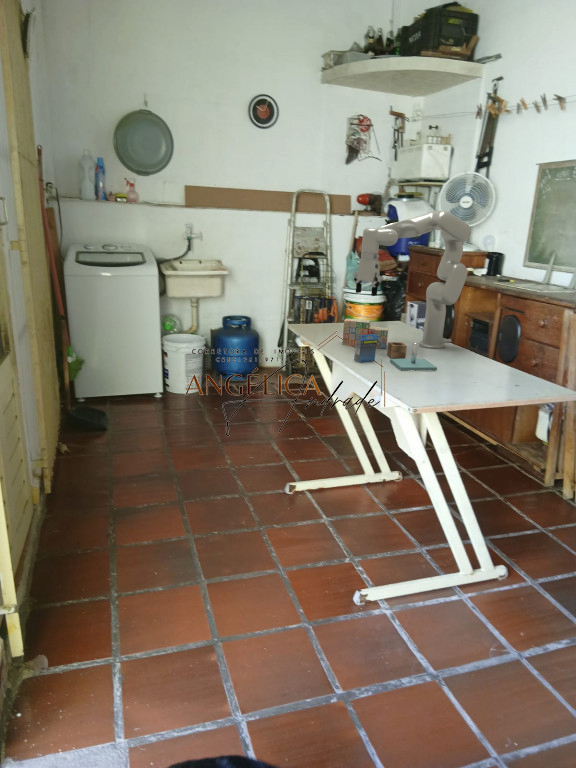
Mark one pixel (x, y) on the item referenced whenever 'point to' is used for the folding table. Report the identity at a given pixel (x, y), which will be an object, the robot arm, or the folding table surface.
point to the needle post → (414, 353)
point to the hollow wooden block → (396, 350)
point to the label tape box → (366, 348)
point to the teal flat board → (407, 365)
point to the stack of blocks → (363, 332)
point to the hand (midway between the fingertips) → (366, 294)
